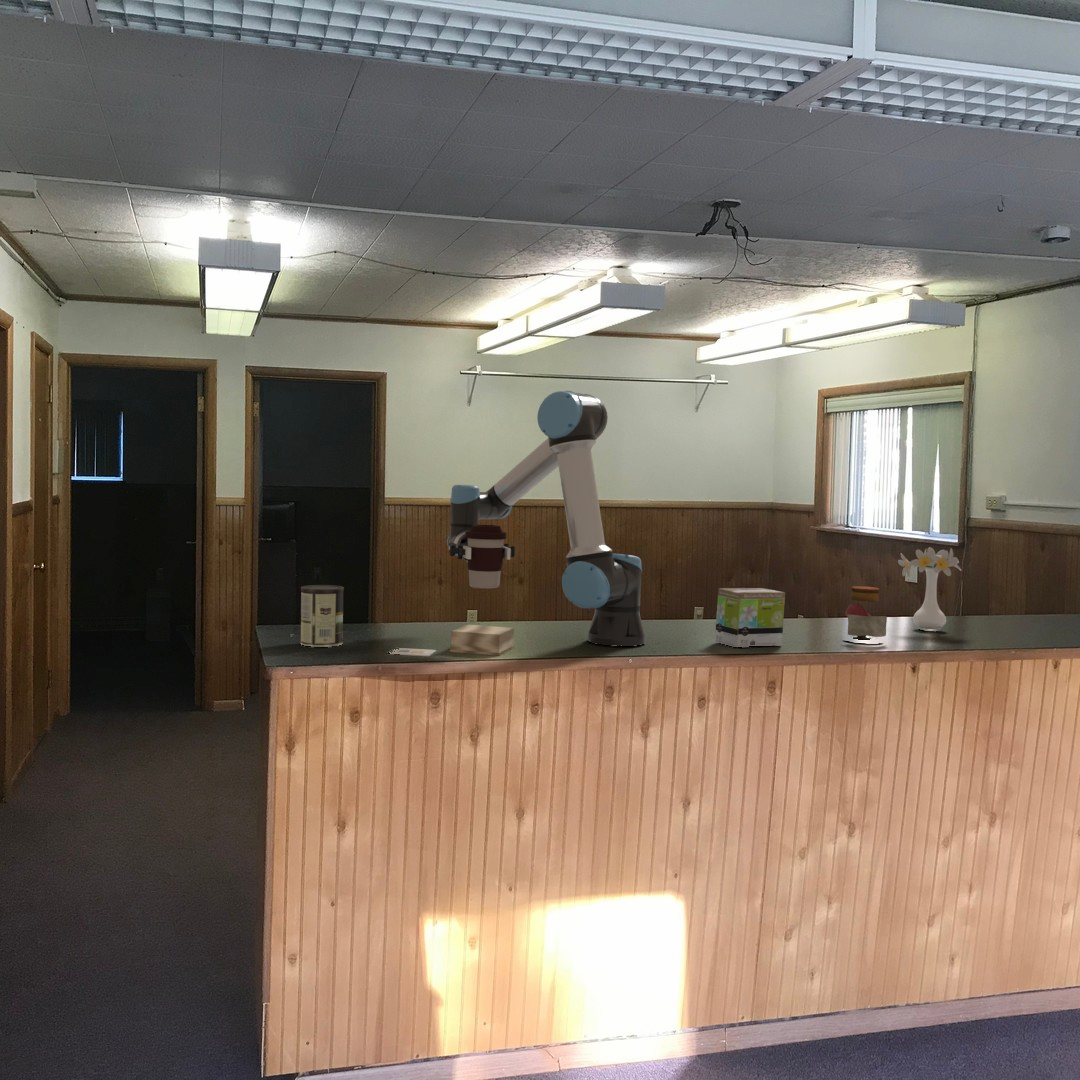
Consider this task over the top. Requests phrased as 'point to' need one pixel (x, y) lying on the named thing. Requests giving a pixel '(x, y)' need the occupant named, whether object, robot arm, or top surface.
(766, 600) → the tea box
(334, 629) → the coffee can
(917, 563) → the flower vase
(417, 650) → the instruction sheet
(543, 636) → the top surface
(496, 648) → the tan flat block
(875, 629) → the brown red grey stack
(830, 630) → the top surface
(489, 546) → the coffee cup
